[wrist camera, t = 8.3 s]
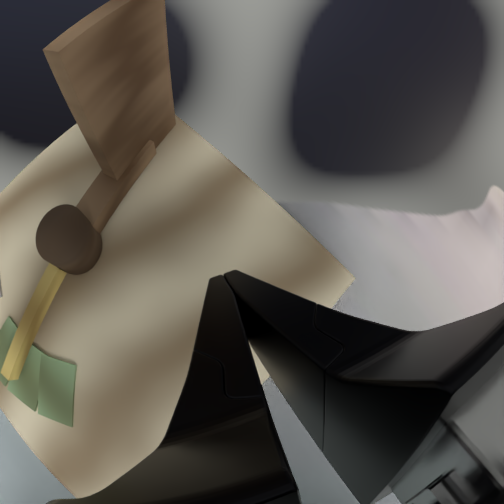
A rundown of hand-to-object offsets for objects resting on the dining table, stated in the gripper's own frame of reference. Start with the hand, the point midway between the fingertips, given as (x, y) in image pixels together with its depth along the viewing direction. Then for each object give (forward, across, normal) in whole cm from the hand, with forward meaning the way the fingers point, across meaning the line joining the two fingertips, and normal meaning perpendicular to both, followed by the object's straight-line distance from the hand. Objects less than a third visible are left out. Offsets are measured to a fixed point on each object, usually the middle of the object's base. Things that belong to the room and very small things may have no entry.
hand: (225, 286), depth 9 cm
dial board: (+8, +6, +2) cm, 10 cm away
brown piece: (+8, +6, 0) cm, 10 cm away
